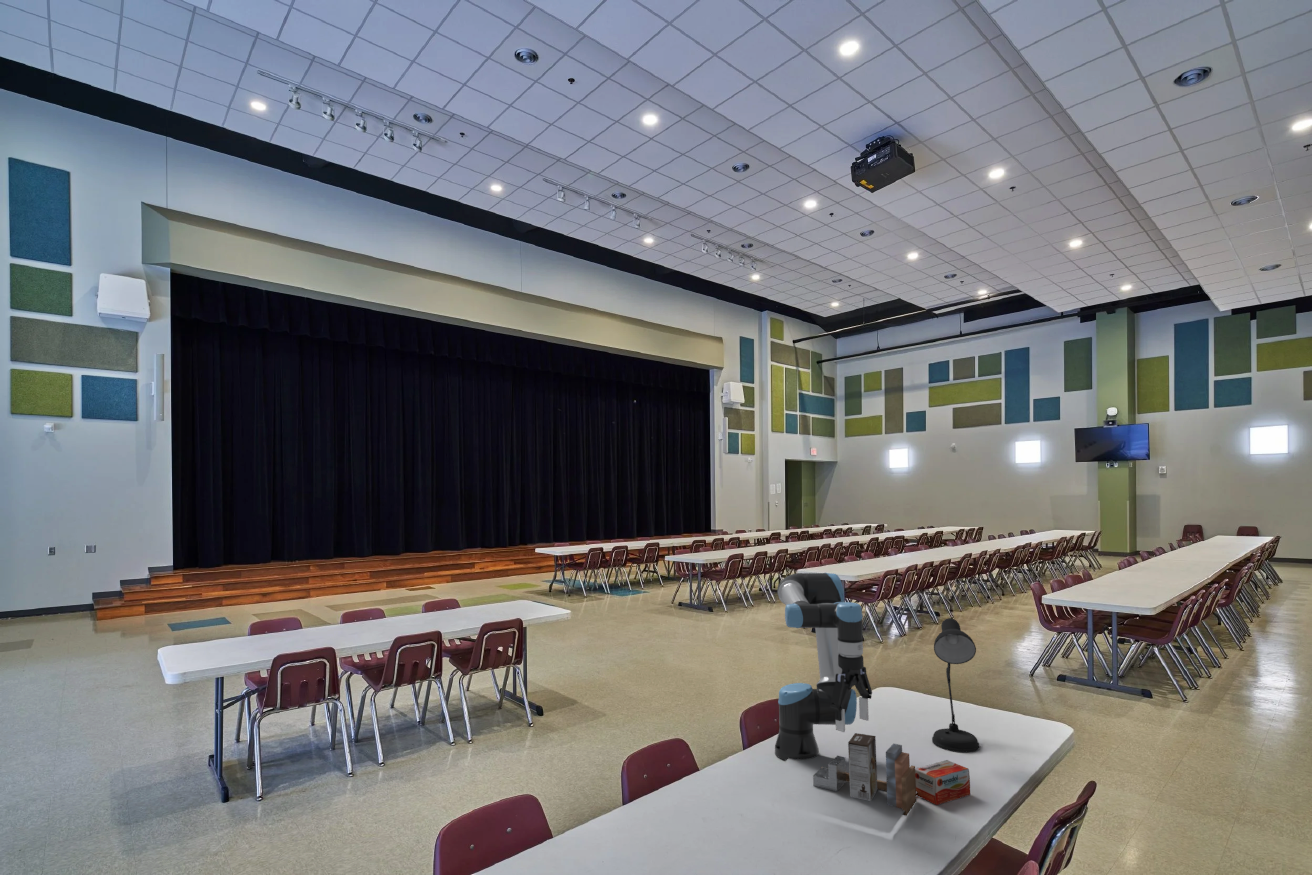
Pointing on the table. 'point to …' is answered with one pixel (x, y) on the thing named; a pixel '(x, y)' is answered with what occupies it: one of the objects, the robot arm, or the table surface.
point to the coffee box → (862, 766)
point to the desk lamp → (952, 650)
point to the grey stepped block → (831, 775)
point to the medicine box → (942, 782)
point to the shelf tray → (905, 789)
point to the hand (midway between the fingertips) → (852, 724)
